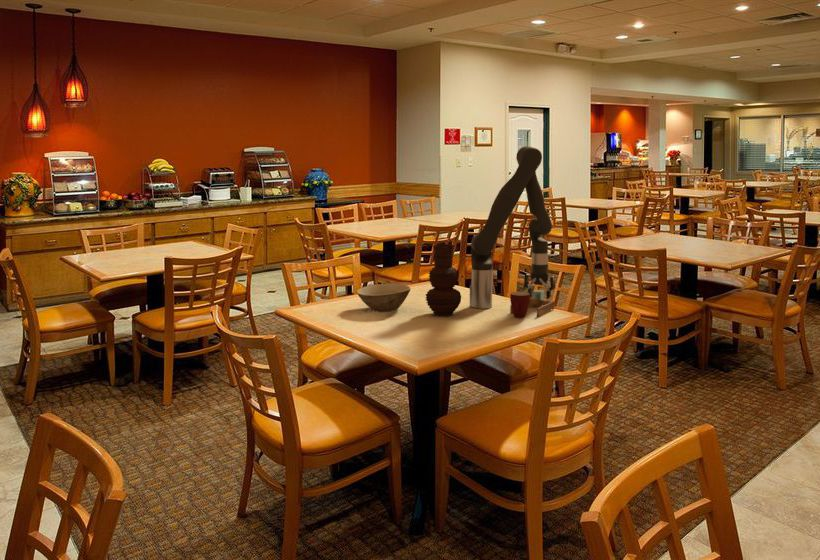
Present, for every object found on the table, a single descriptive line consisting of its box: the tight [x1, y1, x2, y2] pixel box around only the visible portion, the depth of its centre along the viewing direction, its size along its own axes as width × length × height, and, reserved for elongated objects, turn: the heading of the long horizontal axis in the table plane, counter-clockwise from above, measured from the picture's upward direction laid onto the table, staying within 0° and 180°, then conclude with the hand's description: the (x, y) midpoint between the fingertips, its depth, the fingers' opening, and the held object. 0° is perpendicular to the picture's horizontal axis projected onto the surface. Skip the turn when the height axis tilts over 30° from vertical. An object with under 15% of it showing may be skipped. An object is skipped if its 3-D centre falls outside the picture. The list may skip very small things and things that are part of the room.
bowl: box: [356, 283, 411, 313], centre depth 304 cm, size 24×24×10 cm
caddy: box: [509, 298, 555, 318], centre depth 299 cm, size 13×17×4 cm
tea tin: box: [531, 289, 545, 300], centre depth 314 cm, size 4×4×6 cm
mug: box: [509, 291, 531, 319], centre depth 288 cm, size 11×8×10 cm
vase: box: [424, 243, 462, 318], centre depth 292 cm, size 15×15×30 cm
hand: (539, 297), depth 313 cm, fingers open, 8 cm apart
